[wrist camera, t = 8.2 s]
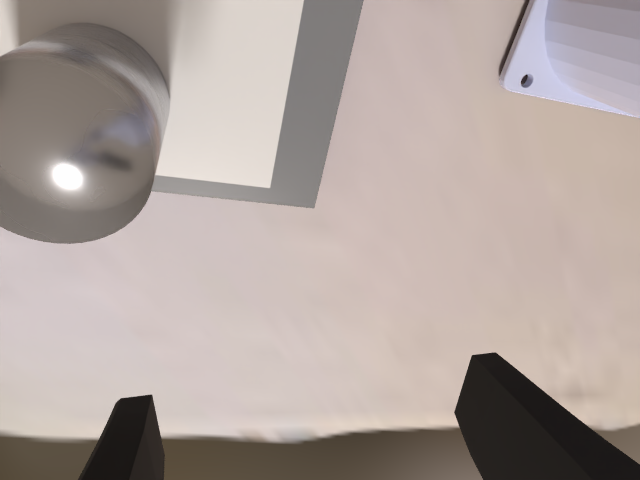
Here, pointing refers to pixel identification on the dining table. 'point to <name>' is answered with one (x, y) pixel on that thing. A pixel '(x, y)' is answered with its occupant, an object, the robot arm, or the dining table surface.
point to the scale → (228, 85)
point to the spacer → (78, 133)
